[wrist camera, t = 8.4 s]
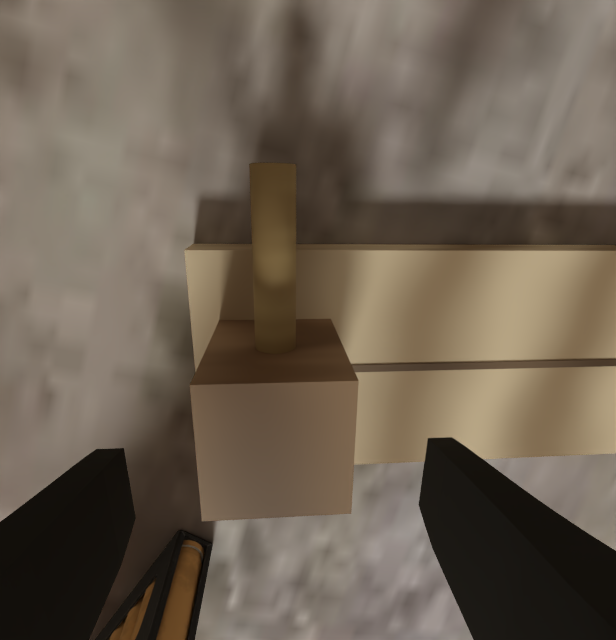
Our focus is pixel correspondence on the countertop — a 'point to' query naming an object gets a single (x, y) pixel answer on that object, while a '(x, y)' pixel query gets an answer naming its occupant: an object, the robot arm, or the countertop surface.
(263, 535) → the countertop surface
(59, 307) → the countertop surface
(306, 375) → the mallet
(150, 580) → the ammunition clip
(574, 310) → the board
